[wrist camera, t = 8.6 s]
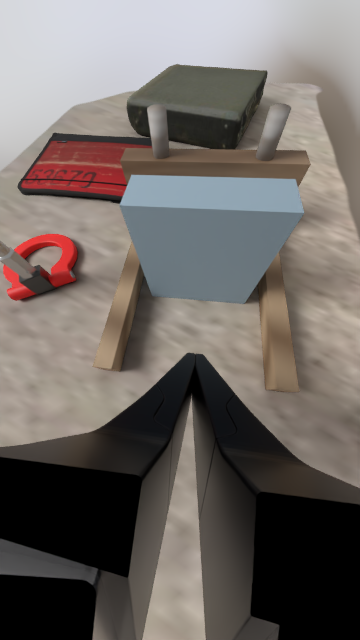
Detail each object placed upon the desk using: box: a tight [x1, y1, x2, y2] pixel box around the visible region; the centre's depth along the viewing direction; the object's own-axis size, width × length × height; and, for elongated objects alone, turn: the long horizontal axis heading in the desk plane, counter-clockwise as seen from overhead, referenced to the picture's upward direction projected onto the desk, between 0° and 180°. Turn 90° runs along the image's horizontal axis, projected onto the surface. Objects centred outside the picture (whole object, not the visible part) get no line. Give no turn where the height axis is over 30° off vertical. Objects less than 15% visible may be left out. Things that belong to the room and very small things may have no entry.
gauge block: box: [120, 175, 304, 304], centre depth 16 cm, size 11×10×10 cm
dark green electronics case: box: [127, 64, 267, 150], centre depth 33 cm, size 23×24×5 cm
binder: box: [18, 133, 152, 204], centre depth 29 cm, size 16×2×21 cm
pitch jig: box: [93, 104, 311, 392], centre depth 15 cm, size 22×18×10 cm
